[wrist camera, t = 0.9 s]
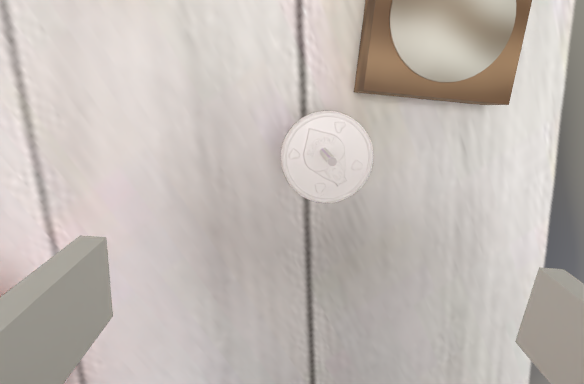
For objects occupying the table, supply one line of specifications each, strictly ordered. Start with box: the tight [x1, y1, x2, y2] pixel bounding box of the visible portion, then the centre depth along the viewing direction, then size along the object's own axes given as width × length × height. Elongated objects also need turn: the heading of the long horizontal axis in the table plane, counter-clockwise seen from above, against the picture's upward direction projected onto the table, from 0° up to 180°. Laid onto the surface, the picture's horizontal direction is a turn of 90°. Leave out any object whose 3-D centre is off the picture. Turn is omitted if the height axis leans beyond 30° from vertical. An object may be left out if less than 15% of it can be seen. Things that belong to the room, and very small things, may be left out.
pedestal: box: [354, 0, 532, 105], centre depth 30 cm, size 12×12×4 cm
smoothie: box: [281, 110, 374, 203], centre depth 27 cm, size 6×6×14 cm
